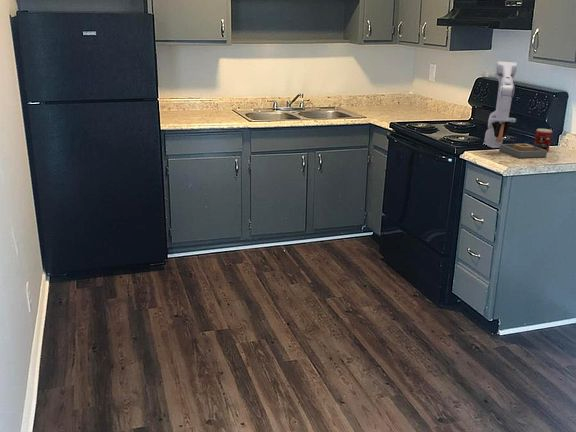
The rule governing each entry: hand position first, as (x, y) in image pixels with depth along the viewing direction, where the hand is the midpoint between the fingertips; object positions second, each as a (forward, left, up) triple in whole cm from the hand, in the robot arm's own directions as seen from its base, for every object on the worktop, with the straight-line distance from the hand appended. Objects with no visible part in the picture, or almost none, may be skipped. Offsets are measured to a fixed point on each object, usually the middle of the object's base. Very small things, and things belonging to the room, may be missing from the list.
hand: (499, 136), depth 294 cm
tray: (+2, +14, -9) cm, 17 cm away
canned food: (-4, +30, -9) cm, 32 cm away
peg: (0, 0, -2) cm, 2 cm away
